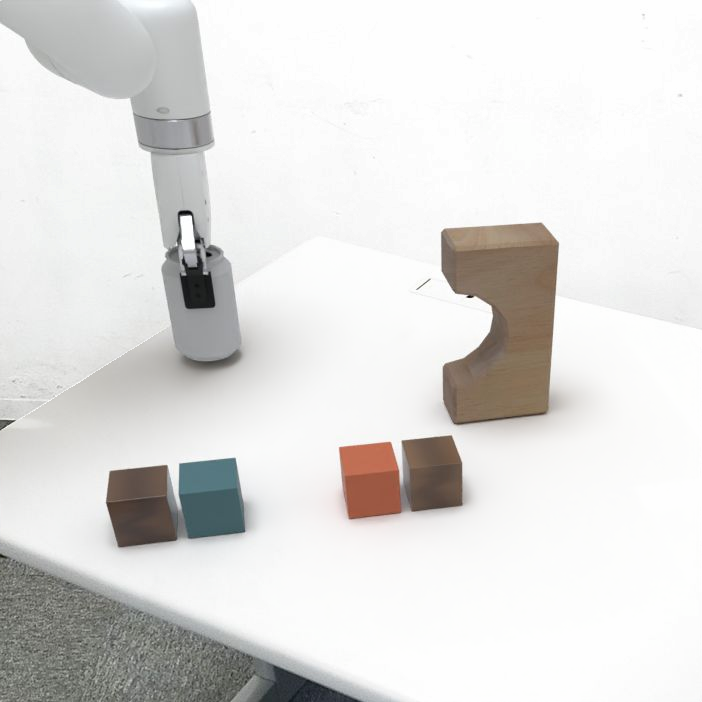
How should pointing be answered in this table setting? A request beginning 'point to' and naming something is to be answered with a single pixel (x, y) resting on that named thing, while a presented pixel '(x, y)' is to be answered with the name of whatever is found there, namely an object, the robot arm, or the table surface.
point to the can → (203, 310)
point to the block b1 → (142, 505)
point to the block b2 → (211, 497)
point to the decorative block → (503, 319)
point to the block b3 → (370, 479)
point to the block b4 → (432, 472)
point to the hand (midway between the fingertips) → (200, 291)
